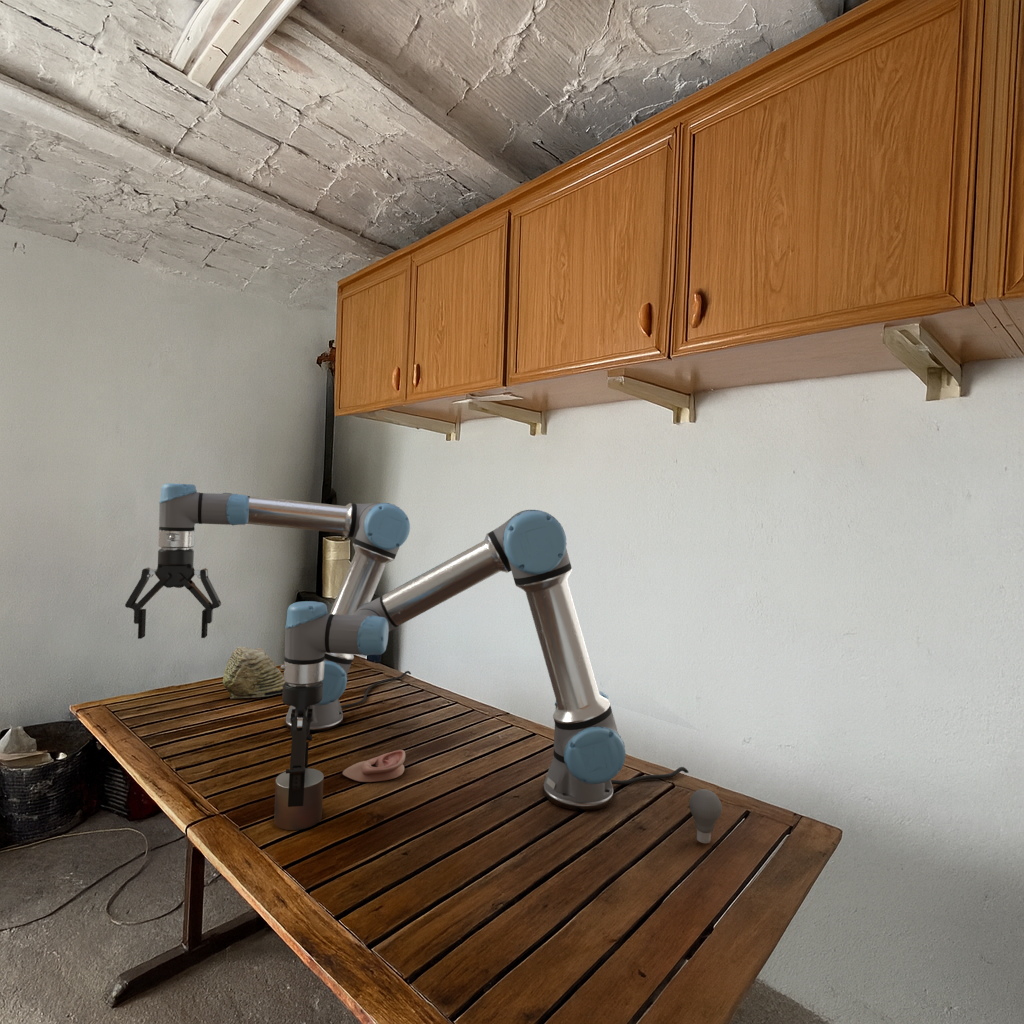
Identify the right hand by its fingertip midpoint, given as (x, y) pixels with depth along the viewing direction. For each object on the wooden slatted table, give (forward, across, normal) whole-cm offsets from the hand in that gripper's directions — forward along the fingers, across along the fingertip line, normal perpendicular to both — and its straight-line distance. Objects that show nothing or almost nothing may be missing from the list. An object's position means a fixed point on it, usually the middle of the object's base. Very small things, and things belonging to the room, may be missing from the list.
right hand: (298, 789), depth 124 cm
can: (+6, 0, 0) cm, 6 cm away
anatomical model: (+6, -18, +16) cm, 25 cm away
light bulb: (+5, +23, +76) cm, 80 cm away
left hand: (-22, -37, -32) cm, 53 cm away
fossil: (+6, -81, -18) cm, 83 cm away
